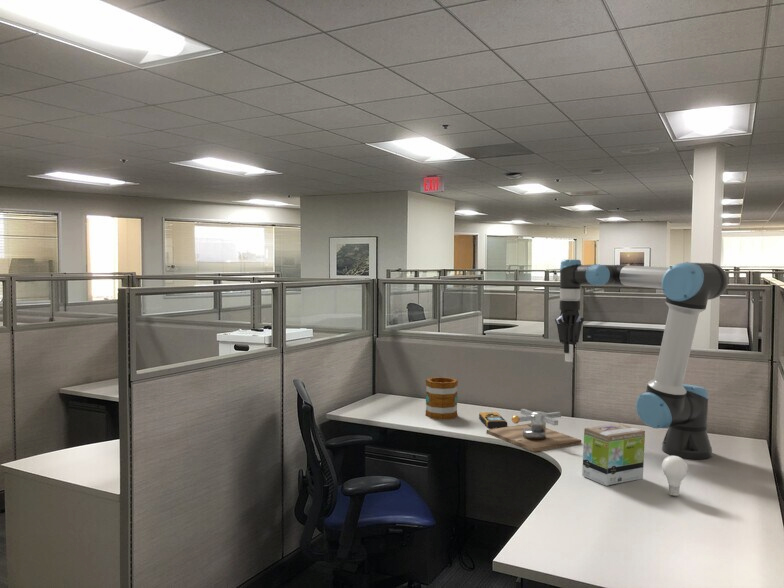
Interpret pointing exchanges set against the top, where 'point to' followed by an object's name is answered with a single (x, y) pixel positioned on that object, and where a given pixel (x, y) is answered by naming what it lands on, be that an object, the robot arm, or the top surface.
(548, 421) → the capstan
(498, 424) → the electronic device
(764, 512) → the top surface
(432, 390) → the mug
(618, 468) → the tea box
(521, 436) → the wooden board
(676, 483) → the lightbulb
